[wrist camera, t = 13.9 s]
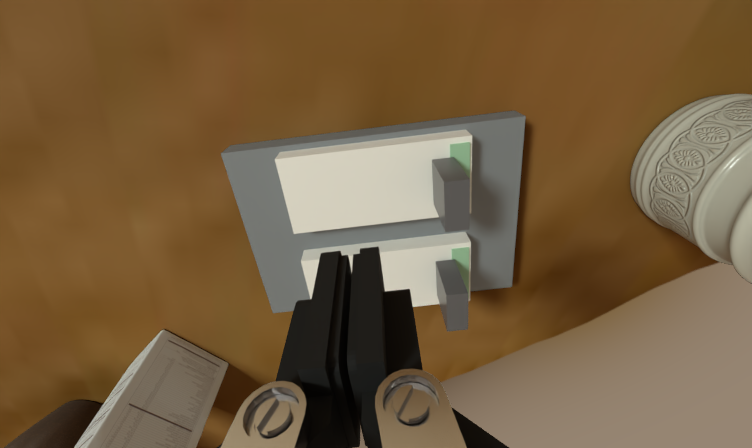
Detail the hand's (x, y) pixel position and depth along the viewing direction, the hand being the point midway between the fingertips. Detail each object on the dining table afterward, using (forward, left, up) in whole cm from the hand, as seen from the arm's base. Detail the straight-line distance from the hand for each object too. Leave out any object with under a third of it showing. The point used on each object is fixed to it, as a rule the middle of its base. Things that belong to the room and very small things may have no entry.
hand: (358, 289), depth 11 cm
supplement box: (+28, -27, -25) cm, 46 cm away
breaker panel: (+10, +1, -24) cm, 26 cm away
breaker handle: (+15, +6, -20) cm, 25 cm away
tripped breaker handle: (+5, +6, -20) cm, 21 cm away
